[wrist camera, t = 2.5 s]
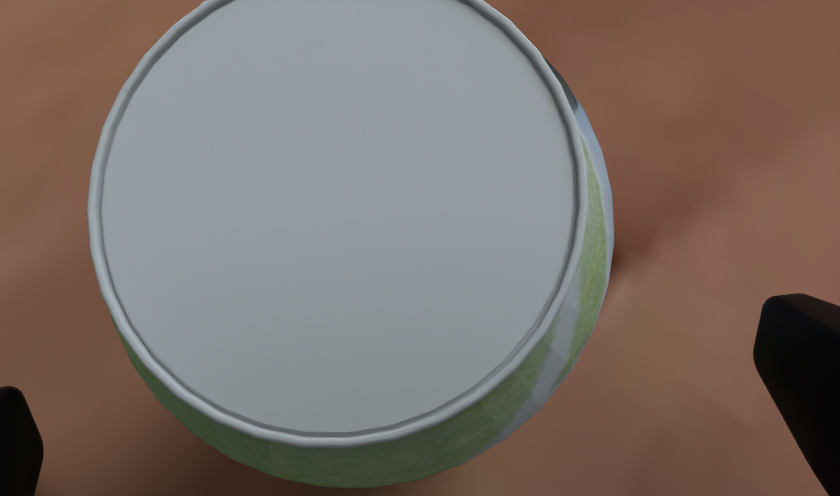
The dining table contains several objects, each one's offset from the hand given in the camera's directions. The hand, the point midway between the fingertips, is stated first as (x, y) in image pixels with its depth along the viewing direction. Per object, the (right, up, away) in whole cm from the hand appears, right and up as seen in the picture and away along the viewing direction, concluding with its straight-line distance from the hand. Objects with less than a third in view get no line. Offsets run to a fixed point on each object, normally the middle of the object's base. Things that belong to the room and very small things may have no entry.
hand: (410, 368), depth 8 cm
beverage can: (-1, -1, +10) cm, 10 cm away
